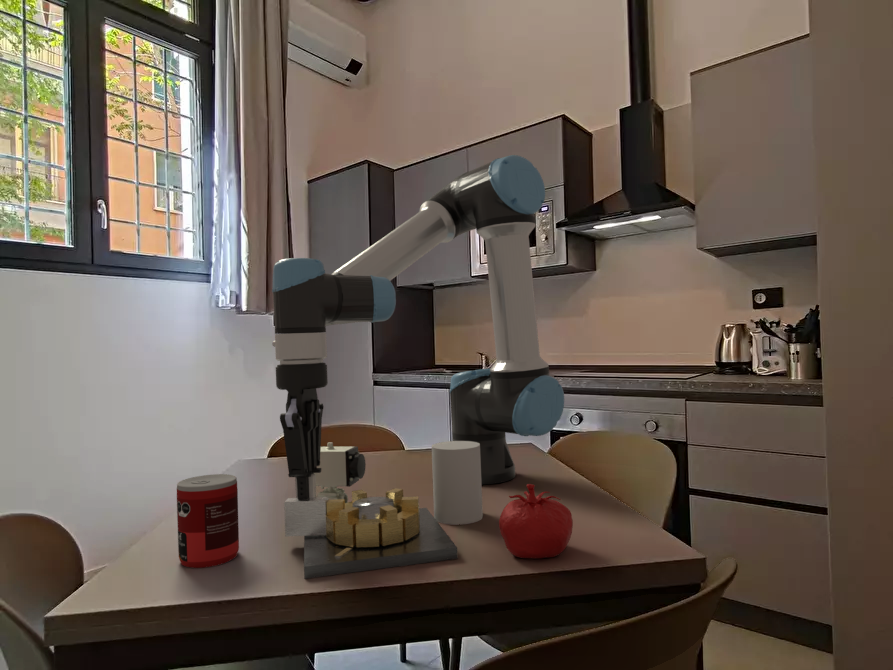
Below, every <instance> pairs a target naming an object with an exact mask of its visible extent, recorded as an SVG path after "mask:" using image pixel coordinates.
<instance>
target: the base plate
mask: <svg viewBox="0 0 893 670" xmlns="http://www.w3.org/2000/svg"><path fill="white" fill-rule="evenodd" d="M388 505H391V506H393V507H394V502H393V499H391V498H387V497H386V496H369V497H368V496H367V498H363V499H359V500H356V501H354V502H353V507H356V508H359V519H360V520H364V519H380V507H383V506H388ZM419 514H420V529H419V533H418V534H416V535H415V536H413V537H411V538H409V539H408V540H403V542H398V543H394V544H390V545H385V546H382V545H380V546H379V547H356V546H355V547H349V546H344V545H339V544H336V543H333V542H332V541H331V540H329V539H328V538H327V536H326V535H310V536H303V539H304V540H303V541H304V542H303V576H304V579H312V578H319V577H320V578H321V577H329V576H335V575H342V574H343V575H344V574H350V573H357V572H358V573H359V572H365V571H372V570H373V571H374V570H375V571H376V570H381V569H389V568H397V567H403V566H412V565H418V564H419V565H420V564H426V563H432V562H433V563H435V562H443V561H450V560H457V559H458V558H459V557H458V547H457V545H456V544H455V542H453V540H452V539H451V537H450V536H449V535H448V533H447V532H446V531H445V530H444V528H443V526H442V525H440V522H437V521H436V519H435V518H434V515H433V514H432V513H431V511H430V510H429V509H428V508H427V507H419Z"/></svg>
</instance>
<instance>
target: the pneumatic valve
mask: <svg viewBox="0 0 893 670" xmlns="http://www.w3.org/2000/svg"><path fill="white" fill-rule="evenodd" d="M366 465H367V464H366V457H365V455H364V454H363V453H360V451H359V447H358V446H334V443H333V442H330V441H329V442H327V446H321V450H320V465H319V466H317V468H321V473H314V474H315V475H316V487H320V489H322V490H323V491H320V492H318V493H316V497H328V500H336V499H345V503H347V502H349V501H348V499H349V498H348V494H347V493H346V492H345V491H346V490H345V489H344V488H343V487H345V488H346V487H351V486H353V485H355V484H356V483H357V482H358V481H360V479H363V477H364V476H365V473H366ZM338 487H342V488H338Z"/></svg>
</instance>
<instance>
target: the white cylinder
mask: <svg viewBox="0 0 893 670" xmlns="http://www.w3.org/2000/svg"><path fill="white" fill-rule="evenodd" d="M431 464H432V465H431V466H432V467H431V468H432V470H431V471H432V489H433V491H432V497H433V498H432V499H433V517H434V518H435V519H436V521H437V522H438V523H439V524H445V525H455V526H456V525H457V526H458V525H459V524H460V525H468V524H473V523H476V522H479V521H481V520H483V517H484V514H483V511H484V510H483V494H482V493H483V492H482V491H483V490H482V485H483V484H481V459H480V444H479V443H477V442H471V441H452V440H450V441H448V440H447V441H442V442H437V443H433V444H432V445H431Z"/></svg>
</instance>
